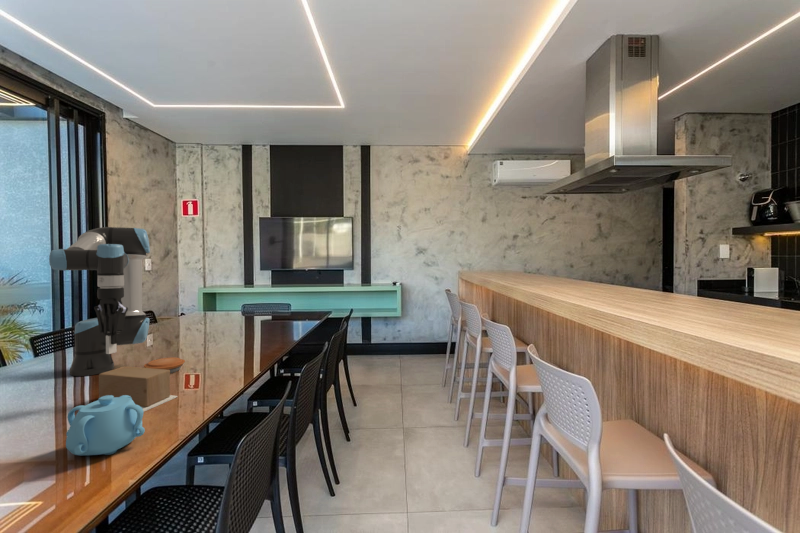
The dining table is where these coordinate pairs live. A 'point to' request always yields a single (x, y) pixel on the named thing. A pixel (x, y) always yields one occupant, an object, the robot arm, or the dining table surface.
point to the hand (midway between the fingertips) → (111, 352)
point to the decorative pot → (104, 426)
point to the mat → (158, 403)
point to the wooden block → (136, 384)
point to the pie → (166, 364)
